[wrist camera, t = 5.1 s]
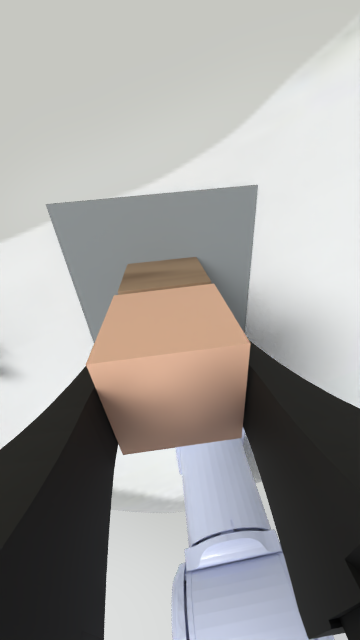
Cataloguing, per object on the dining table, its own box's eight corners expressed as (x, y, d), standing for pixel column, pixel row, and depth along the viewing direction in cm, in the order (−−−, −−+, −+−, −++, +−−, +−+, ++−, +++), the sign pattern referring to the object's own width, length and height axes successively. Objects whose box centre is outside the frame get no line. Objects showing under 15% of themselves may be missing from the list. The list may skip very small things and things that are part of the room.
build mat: (241, 346, 19) (243, 348, 19) (102, 363, 19) (102, 366, 18) (255, 184, 13) (257, 185, 13) (48, 204, 12) (45, 204, 12)
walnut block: (198, 315, 17) (211, 353, 13) (139, 322, 17) (134, 363, 13) (196, 256, 15) (211, 281, 11) (127, 263, 14) (117, 291, 10)
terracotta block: (215, 359, 12) (241, 437, 8) (133, 370, 12) (122, 454, 8) (214, 283, 10) (250, 343, 6) (113, 295, 10) (85, 364, 6)
